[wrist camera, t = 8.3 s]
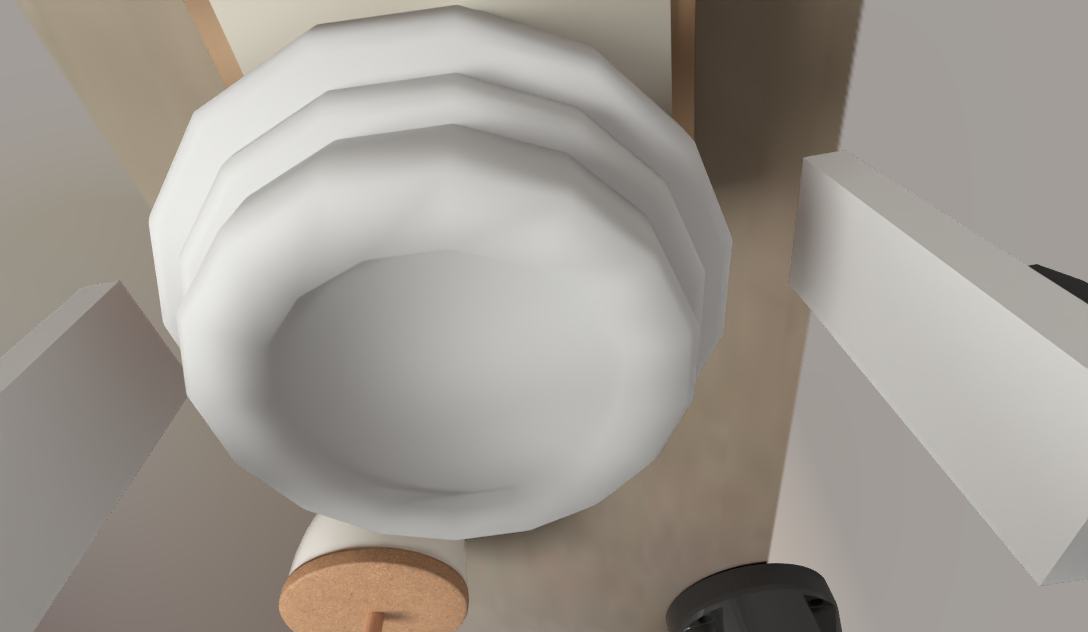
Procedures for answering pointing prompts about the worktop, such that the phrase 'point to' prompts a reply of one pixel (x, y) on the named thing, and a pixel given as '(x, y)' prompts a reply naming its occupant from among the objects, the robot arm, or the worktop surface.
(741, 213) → the worktop surface
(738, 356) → the worktop surface
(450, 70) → the coffee cup
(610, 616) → the worktop surface
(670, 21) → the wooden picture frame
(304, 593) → the lidded jar
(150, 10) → the worktop surface
